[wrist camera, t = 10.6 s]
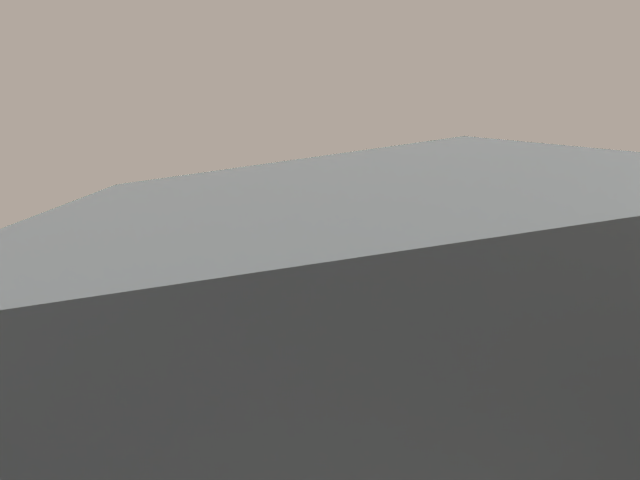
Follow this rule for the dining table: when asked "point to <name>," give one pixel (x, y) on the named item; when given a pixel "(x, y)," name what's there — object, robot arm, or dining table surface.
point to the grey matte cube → (332, 321)
